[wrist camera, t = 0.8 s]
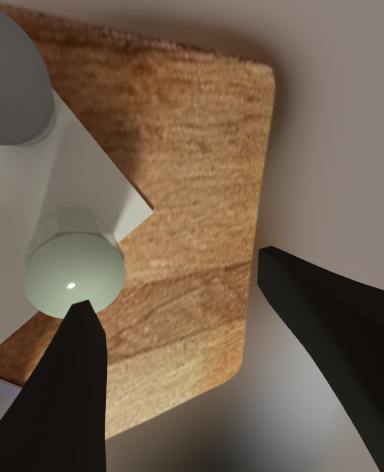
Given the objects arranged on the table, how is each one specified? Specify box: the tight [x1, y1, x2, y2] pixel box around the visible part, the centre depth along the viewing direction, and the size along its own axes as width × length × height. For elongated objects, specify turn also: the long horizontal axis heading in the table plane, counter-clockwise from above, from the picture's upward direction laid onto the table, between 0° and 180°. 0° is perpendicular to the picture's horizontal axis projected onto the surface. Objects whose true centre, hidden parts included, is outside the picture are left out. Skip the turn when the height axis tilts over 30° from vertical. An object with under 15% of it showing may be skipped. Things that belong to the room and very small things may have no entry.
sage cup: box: [23, 207, 125, 319], centre depth 18 cm, size 6×6×8 cm
